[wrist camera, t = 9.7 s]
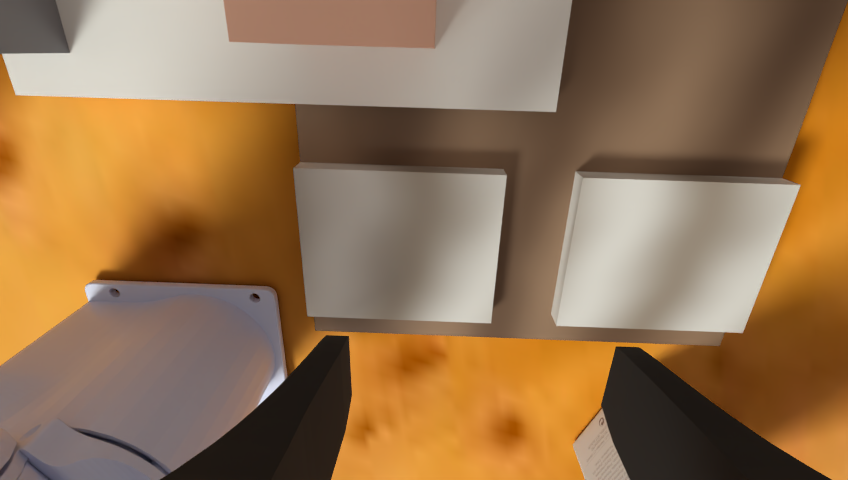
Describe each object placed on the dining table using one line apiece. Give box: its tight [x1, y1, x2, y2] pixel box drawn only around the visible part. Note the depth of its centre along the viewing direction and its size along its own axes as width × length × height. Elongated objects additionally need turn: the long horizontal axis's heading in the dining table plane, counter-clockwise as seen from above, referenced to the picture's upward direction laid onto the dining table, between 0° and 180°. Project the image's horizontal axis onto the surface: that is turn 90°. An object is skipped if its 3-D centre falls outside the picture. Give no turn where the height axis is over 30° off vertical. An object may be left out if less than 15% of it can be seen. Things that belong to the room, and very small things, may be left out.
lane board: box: [293, 0, 848, 346], centre depth 17 cm, size 20×21×2 cm
